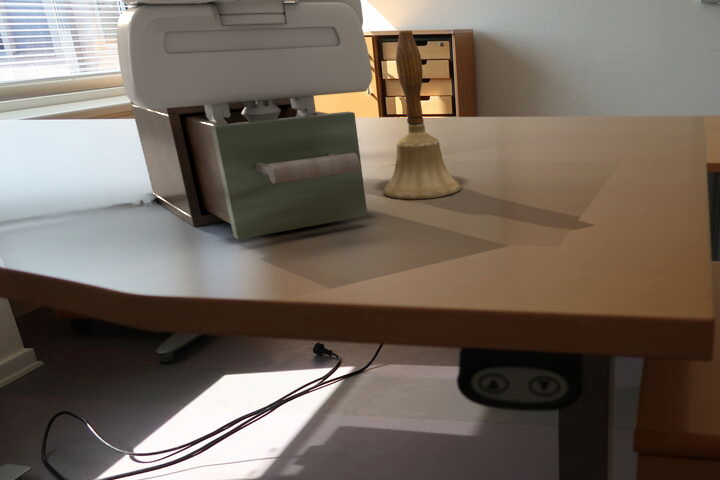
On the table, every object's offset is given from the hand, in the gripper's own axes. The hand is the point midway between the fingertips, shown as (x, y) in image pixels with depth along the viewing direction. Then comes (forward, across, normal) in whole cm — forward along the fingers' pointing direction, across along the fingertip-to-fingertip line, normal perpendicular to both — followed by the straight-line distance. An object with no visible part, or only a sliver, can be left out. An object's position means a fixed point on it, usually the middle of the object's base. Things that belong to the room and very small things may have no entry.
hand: (270, 154), depth 65 cm
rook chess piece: (+4, 0, 0) cm, 4 cm away
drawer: (+5, 0, +2) cm, 6 cm away
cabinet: (+6, 0, -13) cm, 14 cm away
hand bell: (+7, -17, -4) cm, 19 cm away
